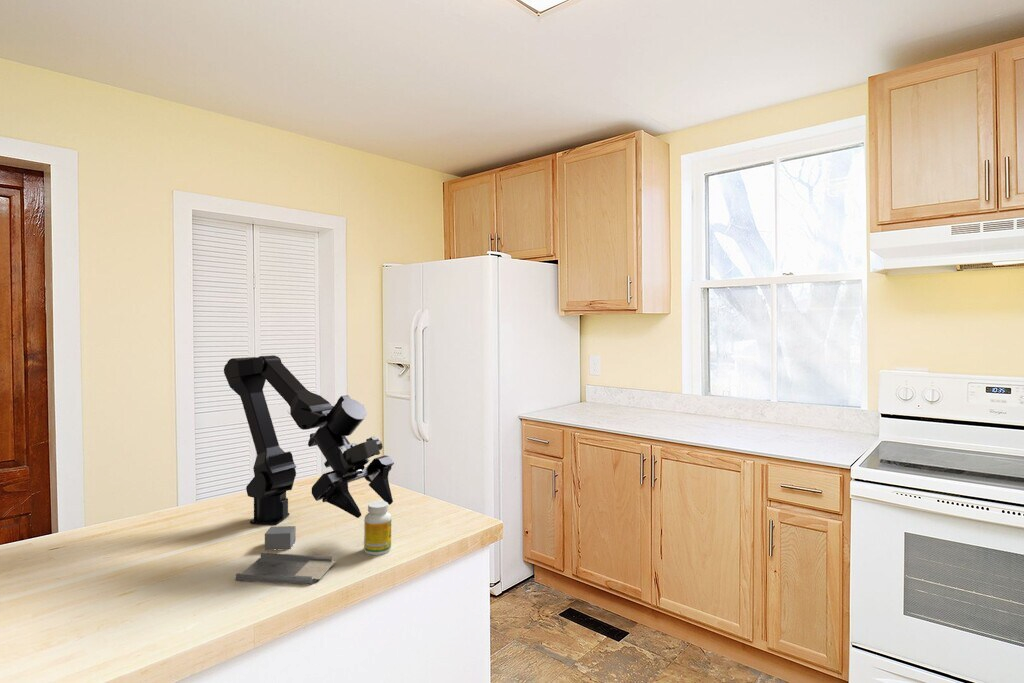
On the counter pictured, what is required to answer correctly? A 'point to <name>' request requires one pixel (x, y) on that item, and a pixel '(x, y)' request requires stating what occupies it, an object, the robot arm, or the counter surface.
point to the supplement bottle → (377, 529)
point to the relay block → (280, 537)
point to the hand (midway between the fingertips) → (376, 509)
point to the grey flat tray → (287, 568)
